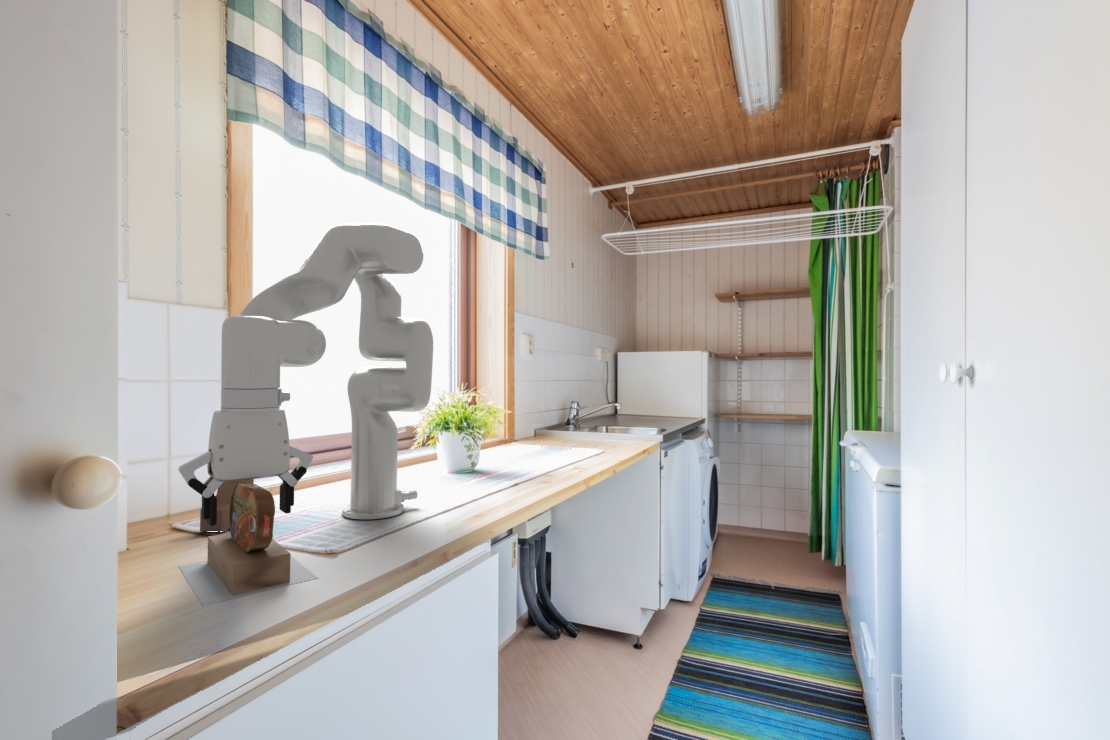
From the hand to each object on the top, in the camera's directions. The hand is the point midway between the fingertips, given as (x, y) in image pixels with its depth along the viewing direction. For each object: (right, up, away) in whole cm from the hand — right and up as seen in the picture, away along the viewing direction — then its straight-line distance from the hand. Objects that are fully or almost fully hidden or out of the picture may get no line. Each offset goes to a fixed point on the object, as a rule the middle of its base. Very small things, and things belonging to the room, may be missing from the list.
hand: (249, 517), depth 78 cm
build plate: (0, -9, 0) cm, 9 cm away
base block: (0, -8, 0) cm, 8 cm away
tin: (0, -4, 0) cm, 4 cm away
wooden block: (-19, -9, +26) cm, 33 cm away
